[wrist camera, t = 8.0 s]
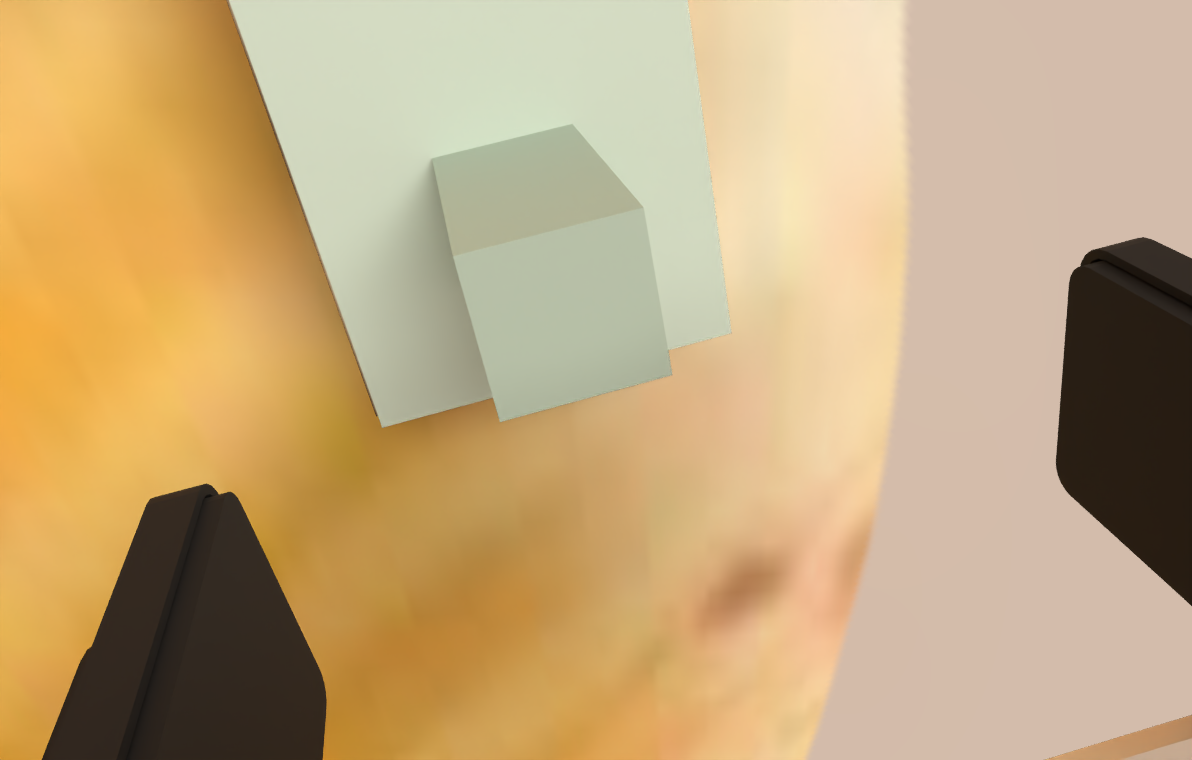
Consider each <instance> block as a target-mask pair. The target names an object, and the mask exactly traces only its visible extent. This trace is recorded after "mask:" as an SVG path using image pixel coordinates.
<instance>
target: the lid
mask: <svg viewBox="0 0 1192 760" xmlns="http://www.w3.org/2000/svg"><path fill="white" fill-rule="evenodd" d="M229 2H230V5H231V8H232V11H233V13H234V16H235V19H236V22H237V25H238V27H239V30H240V33H241V36H242V39H243V41H244V44H245V47H246V50H247V52H248V55H249V58H250V61H251V64H252V66H253V69H254V72H255V75H256V78H257V80H258V83H259V86H260V89H261V91H262V94H263V97H264V100H265V103H266V105H267V108H268V111H269V114H270V117H271V119H272V122H273V125H274V128H275V130H276V133H277V136H278V139H279V142H280V144H281V147H282V150H283V153H284V155H285V158H286V161H287V164H288V167H289V169H290V172H291V175H292V178H293V181H294V183H295V186H296V189H297V192H298V194H299V197H300V200H301V203H302V206H303V208H304V211H305V214H306V217H307V220H308V222H309V225H310V228H311V231H312V233H313V236H314V239H315V242H316V245H317V247H318V250H319V253H320V256H321V259H322V261H323V264H324V267H325V270H326V272H327V275H328V278H329V281H330V284H331V286H332V289H333V292H334V295H335V298H336V300H337V303H338V306H339V309H340V311H341V314H342V317H343V320H344V323H345V325H346V328H347V331H348V334H349V337H350V339H351V342H352V345H353V348H354V350H355V353H356V356H357V359H358V362H359V364H360V367H361V370H362V373H363V375H364V378H365V381H366V384H367V387H368V389H369V392H370V395H371V398H372V401H373V403H374V406H375V409H376V412H377V414H378V417H379V420H380V423H381V426H382V428H383V427H387V426H391V425H394V424H398V423H402V422H405V421H409V420H413V419H416V418H420V417H424V416H428V415H431V414H435V413H439V412H442V411H446V410H450V409H453V408H457V407H461V406H464V405H468V404H472V403H475V402H479V401H483V400H487V399H490V398H493V399H494V403H495V406H496V410H497V413H498V417H499V420H500V422H502V421H506V420H510V419H513V418H517V417H521V416H524V415H528V414H532V413H535V412H539V411H543V410H546V409H550V408H554V407H557V406H561V405H565V404H568V403H572V402H576V401H579V400H583V399H586V398H590V397H594V396H597V395H601V394H605V393H608V392H612V391H616V390H619V389H623V388H627V387H630V386H634V385H638V384H641V383H645V382H649V381H652V380H656V379H660V378H663V377H667V376H670V375H672V370H671V364H670V358H669V352H668V350H671V349H675V348H678V347H682V346H686V345H689V344H693V343H697V342H700V341H704V340H708V339H712V338H715V337H719V336H723V335H726V334H730V333H732V332H731V325H730V317H729V310H728V302H727V294H726V287H725V279H724V272H723V264H722V257H721V249H720V242H719V234H718V226H717V219H716V211H715V204H714V196H713V189H712V181H711V174H710V166H709V158H708V151H707V143H706V136H705V128H704V121H703V113H702V106H701V98H700V90H699V83H698V75H697V68H696V60H695V53H694V45H693V37H692V30H691V22H690V15H689V7H688V0H229Z"/></svg>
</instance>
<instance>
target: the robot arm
mask: <svg viewBox="0 0 1192 760" xmlns="http://www.w3.org/2000/svg"><path fill="white" fill-rule="evenodd" d="M1056 468H1057V473H1058V476H1059V479H1060V481H1061V484H1062V485H1063V487H1064V488H1065V490H1066V491H1067V492H1068V493H1069V495H1070V496H1071V497H1073V498H1074V499H1075V500H1076V501H1077V502H1078V503H1079V504H1080V505H1081V506H1083V507H1084V508H1085V509H1086V510H1087V511H1088V512H1089V513H1090V514H1091V515H1093V517H1095V518H1096V519H1097V520H1098V521H1099V522H1100V523H1101V524H1102V525H1103V526H1104V527H1106V528H1107V529H1108V530H1109V531H1110V532H1111V533H1112V534H1113V535H1114V536H1115V537H1117V538H1118V539H1119V540H1120V541H1121V542H1122V543H1123V544H1124V545H1125V546H1126V547H1128V548H1129V549H1130V550H1131V551H1132V552H1133V553H1134V554H1135V555H1136V556H1137V557H1139V558H1140V559H1141V560H1142V561H1143V562H1144V563H1145V564H1146V565H1147V566H1148V567H1150V568H1151V569H1152V570H1153V571H1154V572H1155V573H1156V574H1157V575H1158V576H1159V577H1161V578H1162V579H1163V580H1164V581H1165V582H1166V583H1167V584H1168V585H1169V586H1171V587H1172V588H1173V589H1174V590H1175V591H1176V592H1177V593H1178V594H1179V595H1180V596H1182V597H1183V598H1184V599H1185V600H1186V601H1187V602H1188V603H1189V604H1190V605H1191V606H1192V258H1189V257H1187V256H1185V255H1183V254H1181V253H1179V252H1177V251H1175V250H1173V249H1171V248H1169V247H1166V246H1164V245H1162V244H1160V243H1158V242H1156V241H1154V240H1152V239H1148V238H1144V237H1142V238H1137V239H1133V240H1129V241H1125V242H1121V243H1118V244H1114V245H1110V246H1107V247H1102V248H1099V249H1095V250H1091V251H1090V252H1089V253H1087V254H1086V255H1085V257H1084V259H1083V260H1082V262H1081V266H1080V267H1078V268H1076V269H1075V270H1074V271H1073V273H1072V275H1071V277H1070V282H1069V292H1068V306H1067V319H1066V333H1065V346H1064V361H1063V375H1062V388H1061V401H1060V414H1059V428H1058V442H1057V455H1056ZM325 719H326V691H325V685H324V681H323V677H322V674H321V672H320V669H319V667H318V665H317V663H316V661H315V658H314V656H313V654H312V652H311V650H310V648H309V646H308V644H307V642H306V640H305V637H304V635H303V633H302V631H301V629H300V627H299V625H298V623H297V621H296V618H295V616H294V614H293V612H292V610H291V608H290V606H289V604H288V602H287V600H286V597H285V595H284V593H283V591H282V589H281V587H280V585H279V583H278V581H277V579H276V576H275V574H274V572H273V570H272V568H271V566H270V564H269V562H268V560H267V558H266V555H265V553H264V551H263V549H262V547H261V545H260V543H259V541H258V539H257V537H256V534H255V532H254V530H253V528H252V526H251V524H250V522H249V520H248V518H247V516H246V513H245V511H244V509H243V507H242V505H241V503H240V501H239V500H238V498H237V497H236V495H235V494H234V493H232V492H227V493H223V494H220V495H219V494H218V492H217V491H216V490H215V489H214V488H213V487H212V486H211V485H209V484H203V485H200V486H196V487H192V488H188V489H184V490H181V491H177V492H173V493H169V494H165V495H162V496H158V497H154V498H152V499H150V500H149V502H148V503H147V505H146V507H145V510H144V512H143V515H142V518H141V520H140V523H139V525H138V528H137V530H136V533H135V536H134V538H133V541H132V543H131V546H130V549H129V551H128V554H127V556H126V559H125V562H124V564H123V567H122V569H121V572H120V575H119V577H118V580H117V582H116V585H115V588H114V590H113V593H112V595H111V598H110V600H109V603H108V606H107V608H106V611H105V613H104V616H103V619H102V621H101V624H100V626H99V629H98V632H97V634H96V637H95V639H94V642H93V645H92V647H91V648H89V649H88V650H87V651H86V653H85V655H84V656H83V658H82V660H81V661H80V664H79V666H78V669H77V671H76V674H75V676H74V679H73V681H72V684H71V687H70V689H69V692H68V694H67V697H66V699H65V702H64V704H63V707H62V709H61V712H60V715H59V717H58V720H57V722H56V725H55V727H54V730H53V732H52V735H51V737H50V740H49V743H48V745H47V748H46V750H45V753H44V755H43V758H42V760H322V759H323V746H324V733H325ZM1045 760H1192V715H1190V716H1186V717H1183V718H1180V719H1177V720H1173V721H1170V722H1167V723H1163V724H1160V725H1157V726H1154V727H1150V728H1147V729H1143V730H1141V731H1137V732H1134V733H1131V734H1127V735H1124V736H1120V737H1117V738H1114V739H1111V740H1108V741H1104V742H1101V743H1098V744H1094V745H1091V746H1088V747H1084V748H1081V749H1078V750H1075V751H1072V752H1068V753H1065V754H1062V755H1058V756H1055V757H1052V758H1049V759H1045Z"/></svg>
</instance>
